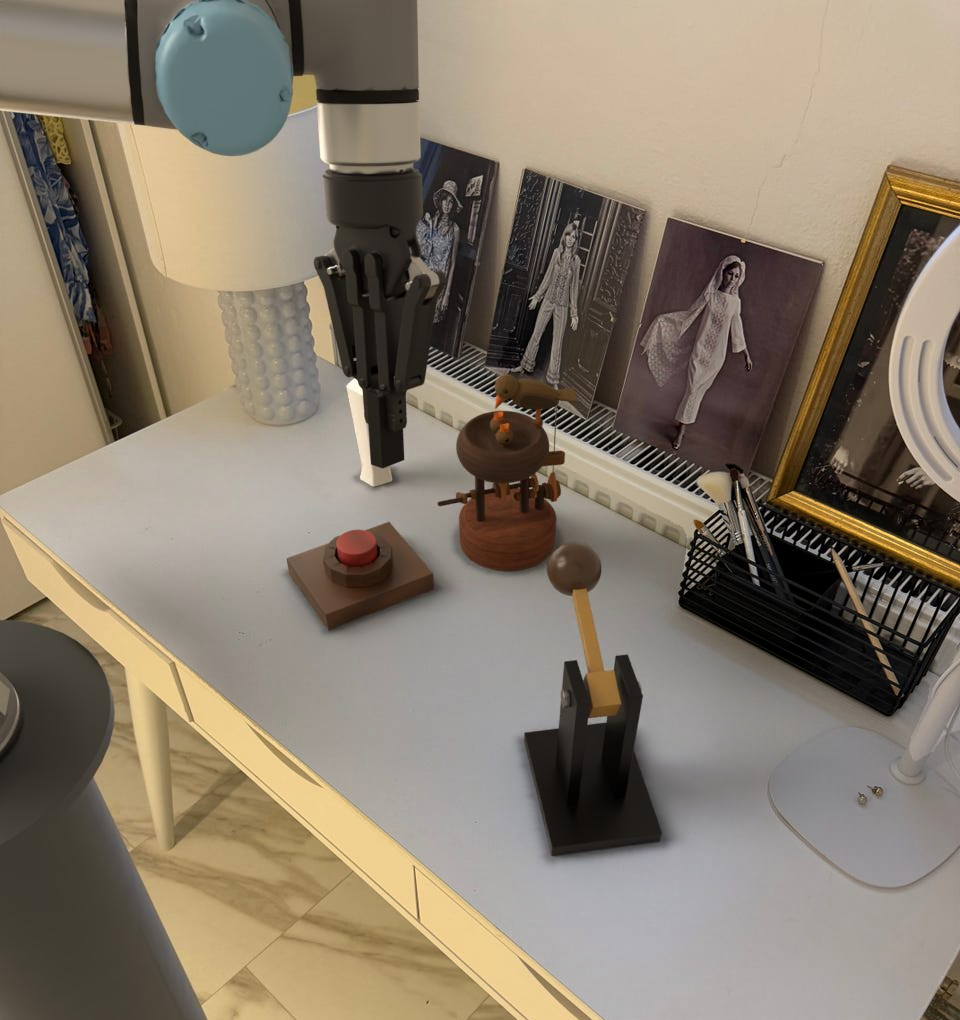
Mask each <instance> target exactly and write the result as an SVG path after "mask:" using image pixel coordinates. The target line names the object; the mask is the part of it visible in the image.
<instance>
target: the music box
mask: <svg viewBox="0 0 960 1020" xmlns="http://www.w3.org/2000/svg"><path fill="white" fill-rule="evenodd" d="M494 392H495V393H496V399H495V405H494V409H497V408H498V407H500V406H501V405H502V404H503V403H504V402H505V401H506V400H512V402H513V404H514V405H515V406H517V407H519V408H522V409H525V410H534V411H535V418H533V417H531V416H530V415H527V414H526V413H522V412H519V411H511V410H494V411H489V412H484V413H481V414H478V415H476V416H475V417H473V418H471V419H470V420H468V422H466V423H465V424H464V425H463V427H462V428H461V430H460V431H459V433H458V435H457V437H456V443H455V449H456V450H455V451H456V455H457V459H458V461H459V463H460V464H461V467H462V468H464V470H465V471H466V472H468V473H469V474H470V475H471V476H473V477H474V489H470V490H469V492H466V493H464V492H461V491H459V492H456V493H455V498H449V499H445V500H439V501H438V502H437V503H436V504H437V506H438V507H444V506H449V505H455V504H459V503H460V504H463V506H462V508H461V509H460V511H459V514H458V527H459V528H458V529H459V531H458V532H459V533H458V534H459V546H460V548H461V550H462V552H463V554H464V555H465V557H467V558H468V560H470V561H471V562H473V563H474V564H476V565H479V566H480V567H483V568H485V569H489V570H493V571H499V572H516V571H523V570H526V569H530V568H532V567H535V566H538V565H539V564H542V562H544V561H545V560H546V559H547V558H549V557H550V556H551V554H552V553H553V552H554V548H555V545H556V532H557V514H556V511H555V508H554V507H553V505H552V504H551V503H555V502H557V501H558V499H559V498H560V496H561V494H562V487H561V484H560V481H559V480H557V477H556V472H555V466H562V465H565V461H566V452H565V451H564V450H556V437H557V435H556V434H557V414H558V412H559V409H558V408H557V407H558V402H559V401H560V402H567V403H574V404H577V403H578V402H579V398H578V396H577V394H576V391H575V388H574V387H568V388H560V389H556V388H554V387H553V386H552V385H550V384H548V383H546V382H542V381H539V380H536V379H531V378H525V377H520V378H518V379H517V378H516V377H515V376H514V375H511V374H509V373H508V374H507V373H505V374H502V375H500V376H499V377H498V378H497V379H496V380H495V384H494ZM552 408H554V412H555V414H554V415H555V416H554V433H553V434H554V436H553V450H551V451H550V440H549V436H548V434H547V431H546V430H545V429H544V421H543V419H542V417H541V415H542V410H548V409H552ZM551 466H552V472H550V474H549V477H548V479H547V482H542V483H541V484H539V478H538V476H537V473H538V472H539V471H540V470H541V469H542V468H543V467H551ZM485 482H488V483H492V485H491V486H492V487H491V488H485V487H486V486H485ZM469 498H470V499H469ZM549 501H550V502H551V503H550V502H549Z"/></svg>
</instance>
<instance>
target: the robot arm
mask: <svg viewBox="0 0 960 1020" xmlns="http://www.w3.org/2000/svg"><path fill="white" fill-rule="evenodd" d="M418 23H419V22H418V0H0V111H2V112H8V113H9V112H10V113H21V114H28V115H29V114H30V115H39V116H49V117H57V118H67V119H78V120H87V121H97V122H106V123H107V122H108V123H116V124H125V125H126V124H127V125H136V126H146V127H153V128H160V129H166V130H167V129H168V130H176V131H178V132H179V133H180V134H181V135H182V136H183V137H185V138H186V139H187V140H188V141H189V142H191V143H192V144H193V145H194V146H197V147H198V148H200V149H202V150H205V151H207V152H209V153H211V154H214V155H219V156H223V157H241V156H247V155H250V154H253V153H255V152H258V151H259V150H262V149H263V148H265V147H266V146H267V145H269V144H270V143H272V141H273V140H275V138H276V137H277V136H278V135H279V133H280V132H281V131H282V129H283V128H284V126H285V124H286V122H287V120H288V117H289V114H290V111H291V106H292V102H293V101H292V100H293V95H294V88H293V86H294V77H303V76H313V77H314V83H315V86H316V90H315V96H316V110H317V113H316V114H317V127H318V143H319V144H318V145H319V156H320V160H321V161H322V162H323V163H324V164H328V165H329V169H326V170H325V171H324V174H323V175H322V186H323V187H322V188H323V201H324V212H325V213H324V214H325V218H326V220H327V221H328V222H329V223H330V224H331V225H333V226H335V230H334V235H333V238H332V247H333V248H332V249H330V250H329V251H328V252H327V253H326V254H322V255H318V256H315V257H314V258H313V266H314V270H315V271H316V273H317V276H318V279H319V280H320V282H321V285H322V286H323V290H324V294H325V299H326V304H327V308H328V312H329V316H330V321H331V324H332V330H333V334H334V339H335V343H336V348H337V351H338V356H339V361H340V364H341V369H342V372H343V375H344V376H345V377H346V378H353V379H354V378H355V379H356V380H357V381H358V384H359V386H360V387H361V388H362V391H363V405H364V418H365V421H366V423H367V424H368V428H369V443H370V459H371V465H374V466H376V467H379V468H382V469H383V468H386V467H388V466H389V467H390V466H394V465H395V464H398V463H401V462H403V461H405V439H404V429H406V427H407V425H408V413H407V411H408V410H407V392H408V391H409V390H412V389H414V388H417V387H420V386H423V385H425V381H426V375H427V369H428V361H429V355H430V349H431V341H432V337H433V336H432V335H433V328H434V322H435V316H436V310H437V303H438V300H439V298H440V295H441V294H442V292H443V290H444V287H445V286H446V283H447V277H446V274H445V272H444V271H443V270H435V271H433V270H432V269H431V268H430V267H429V266H428V265H427V264H426V263H425V261H424V260H423V259H422V253H423V252H422V247H421V244H420V242H419V239H418V234H417V228H418V226H419V223H420V221H422V219H423V216H424V203H423V199H424V197H423V174H422V173H421V172H420V170H419V169H417V168H415V167H414V164H415V163H417V162H419V161H420V159H421V153H422V152H421V148H422V147H421V119H420V118H421V117H420V115H421V113H420V112H421V111H420V101H419V100H420V89H419V88H420V87H419V86H420V85H419V84H420V81H419V79H420V75H419V35H418V34H419V33H418V32H419V29H418V28H419V27H418ZM23 717H24V713H23V707H22V703H21V701H20V698H19V696H18V695H17V693H16V691H15V689H14V687H13V685H12V684H11V683H10V682H9V680H8V679H7V678H6V677H5V676H4V675H3V674H2V673H1V672H0V762H1V761H2V760H3V759H4V758H5V757H6V755H7V754H8V753H9V752H10V750H11V749H12V747H13V746H14V744H15V743H16V741H17V739H18V737H19V734H20V732H21V729H22V725H23Z"/></svg>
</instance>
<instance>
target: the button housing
mask: <svg viewBox="0 0 960 1020" xmlns="http://www.w3.org/2000/svg"><path fill="white" fill-rule="evenodd" d="M364 530H365V531H368V532H370V533H372V534H373V535H374V536H375V538H376V543H377V557H376V559H375V560H374V561H373V562H372V563H370V564H368V565H365V566H362V567H349V566H346V565H344V564H343V563H341V562H340V560H339V558H338V552H337V545H336V542H337V539H338V538H339V537H340V536H341V535H342V534H339V535H336V536H334V538H332V539H331V540H330V541H329V542H327V543H325V544H322V545H319V546H316V547H314V548H310V549H308V550H305V551H302V552H300V553H297V554H295V555H292V556H289V557H286V558H285V559H286V565H287V570H288V575H289V576H290V577H291V579H292V580H293V582H294V583H295V584H296V586H297V588H298V590H300V591H301V593H302V595H303V596H304V598H305V599H306V600H307V602H308V603H309V605H310V606H311V608H312V609H313V611H314V612H315V613H316V615H317V617H318V618H319V619H320V620H321V622H322V623H323V626H324V627H325V628H326V629H327V630H328V631H331V630H334V629H335V628H338V627H340V626H341V627H342V626H343V625H346V624H349V623H351V622H354V621H356V620H359V619H362V618H364V617H366V616H369V615H372V614H374V613H376V612H379V611H381V610H384V609H387V608H389V607H392V606H394V605H396V604H399V603H403V602H405V601H407V600H410V599H413V598H415V597H417V596H420V595H423V594H425V593H427V592H430V591H432V590H434V589H435V579H434V572H433V571H432V570H431V569H430V568H429V566H428V565H427V564H426V563H425V562H424V560H423V559H422V558H421V557H420V556H419V555H418V553H417V552H416V551H415V550H414V548H412V547H411V546H410V544H409V543H408V542H407V540H406V539H405V538H404V537H403V536H402V535H401V533H399V531H398V530H397V529H396V528H395V527H394V526H393V524H392V523H391V522H390V521H386V522H384V523H382V524H378V525H376V526H375V525H374V526H372V527H370V528H367V529H364Z"/></svg>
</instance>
